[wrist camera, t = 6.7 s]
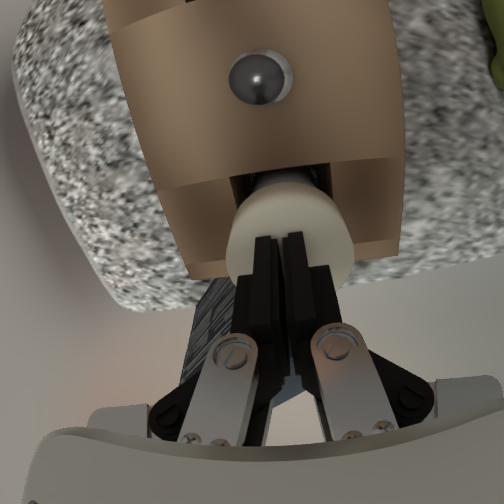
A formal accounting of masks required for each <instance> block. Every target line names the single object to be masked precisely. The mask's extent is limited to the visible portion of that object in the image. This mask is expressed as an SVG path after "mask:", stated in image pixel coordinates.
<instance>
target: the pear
mask: <svg viewBox="0 0 504 504" xmlns="http://www.w3.org/2000/svg"><path fill="white" fill-rule="evenodd" d="M481 2H482V8H483V11H484V15H485V18H486V20H487V23H488V25H489V28H490V30H491V32H492V34H493V36H494V38H495V41H496V46H497V54H496V56H495V57H494V59H493V60H492V62H491V73H492V75H493V82H494V83H495V84H496V85H497V86H498V88H500V89H502V90H503V92H504V0H481Z"/></svg>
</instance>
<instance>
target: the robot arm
mask: <svg viewBox="0 0 504 504" xmlns="http://www.w3.org/2000/svg"><path fill="white" fill-rule="evenodd" d="M282 245H283V262H284V275H283V269H282V263H281V257H280V251H279V246H278V240H277V238H276V239H272V238H271V235H269V236H261V237H256V238H255V247H254V261H253V274H248V275H239V276H238V278H237V284H236V292H235V299H234V307H233V315H232V322H231V330H230V334H228V335H225V336H222V337H221V338H219V339H217V340H216V341H215V342H214V343H213V344H212V345H211V347H210V349H209V351H208V353H207V356H206V359H205V362H204V365H203V368H202V369H201V370H200V371H198V372H197V373H196V374H194V375H193V376H192V377H190V378H189V379H188V380H186V381H185V382H184V383H182V384H181V385H180V386H179V387H177V388H176V389H174V390H173V391H172V392H170V393H169V394H167V395H166V396H165V397H163V398H162V399H161V400H159V401H158V402H157V403H156V404H155V405H153V406H149V405H148V404H140V405H131V406H120V407H108V408H100V409H97V410H96V411H94V412H93V413H92V414H91V416H90V418H89V421H88V426H87V427H68V428H63V429H59V430H56V431H53V432H51V433H49V434H47V435H46V436H45V437H44V438H43V439H42V440H41V442H40V443H39V445H38V447H37V449H36V451H35V453H34V456H33V459H32V461H31V465H30V468H29V471H28V475H27V479H26V483H25V487H24V492H23V498H22V504H504V398H503V391H502V387H501V385H500V383H499V381H498V380H497V379H496V378H494V377H493V376H489V375H482V376H473V377H463V378H450V379H436V381H435V382H426V381H425V380H423V379H422V378H420V377H418V376H416V375H414V374H412V373H411V372H409V371H407V370H405V369H403V368H401V367H399V366H397V365H396V364H394V363H392V362H390V361H388V360H387V359H385V358H383V357H381V356H379V355H377V354H376V353H374V352H372V351H370V350H369V349H367V346H366V344H365V342H364V340H363V337H362V335H361V334H360V332H359V331H358V330H357V329H356V328H354V327H353V326H351V325H348V324H346V323H342V318H341V314H340V309H339V305H338V300H337V296H336V291H335V287H334V283H333V279H332V275H331V271H330V267H329V265H320V266H312V267H309V266H308V260H307V254H306V248H305V242H304V236H303V231H298V232H291V233H288V237H284V238H282ZM284 279H285V281H284ZM289 339H290V344H291V350H292V356H293V362H294V368H295V375H296V376H297V375H301V381H302V388H304V389H305V390H307V391H308V392H309V393H311V394H312V395H313V396H314V400H315V405H316V409H317V413H318V417H319V421H320V425H321V429H322V434H323V438H324V442H323V443H315V444H303V445H291V446H265V444H266V440H267V434H268V430H269V425H270V420H271V414H272V409H273V404H274V396H276V395H277V394H278V393H279V392H280V391H281V390H282V385H285V377H286V376H290V346H289Z"/></svg>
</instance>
